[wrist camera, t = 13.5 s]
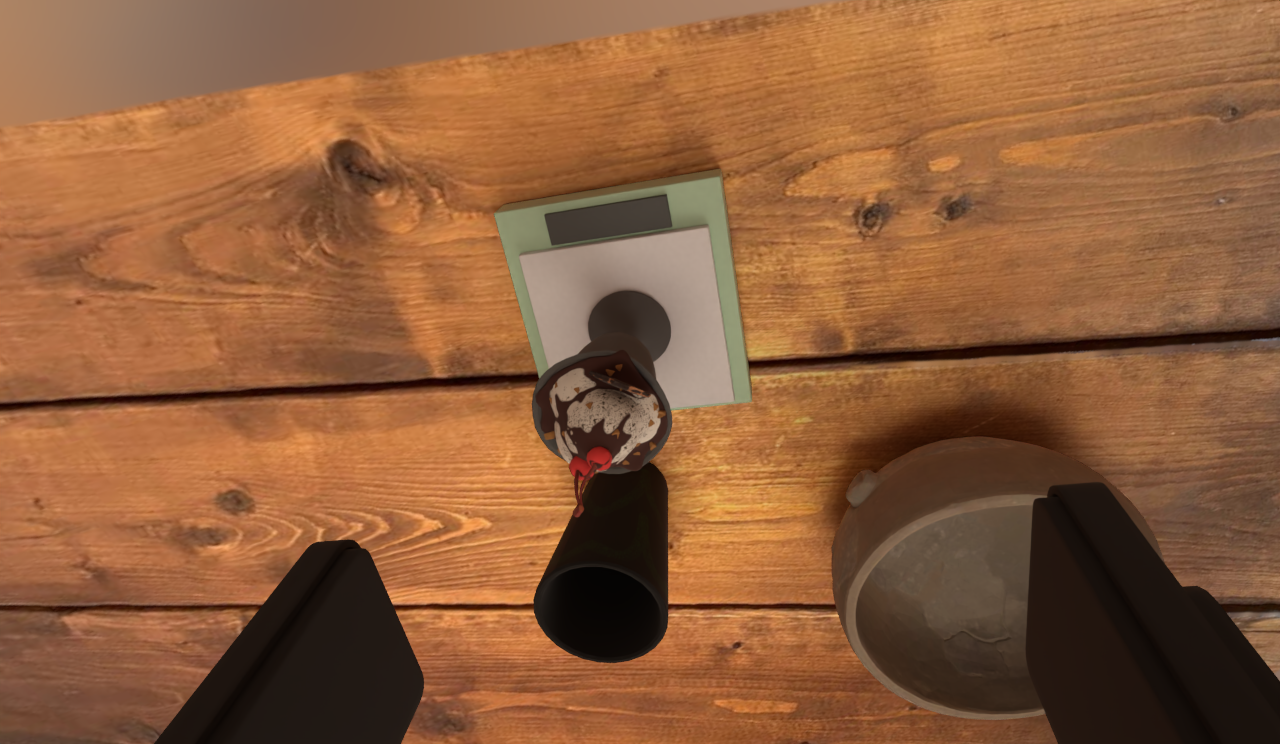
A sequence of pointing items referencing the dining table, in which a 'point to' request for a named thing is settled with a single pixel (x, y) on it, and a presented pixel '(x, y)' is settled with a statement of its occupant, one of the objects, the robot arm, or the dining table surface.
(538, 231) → the scale
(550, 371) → the sundae
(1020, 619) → the bowl
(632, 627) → the cup
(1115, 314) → the dining table surface
